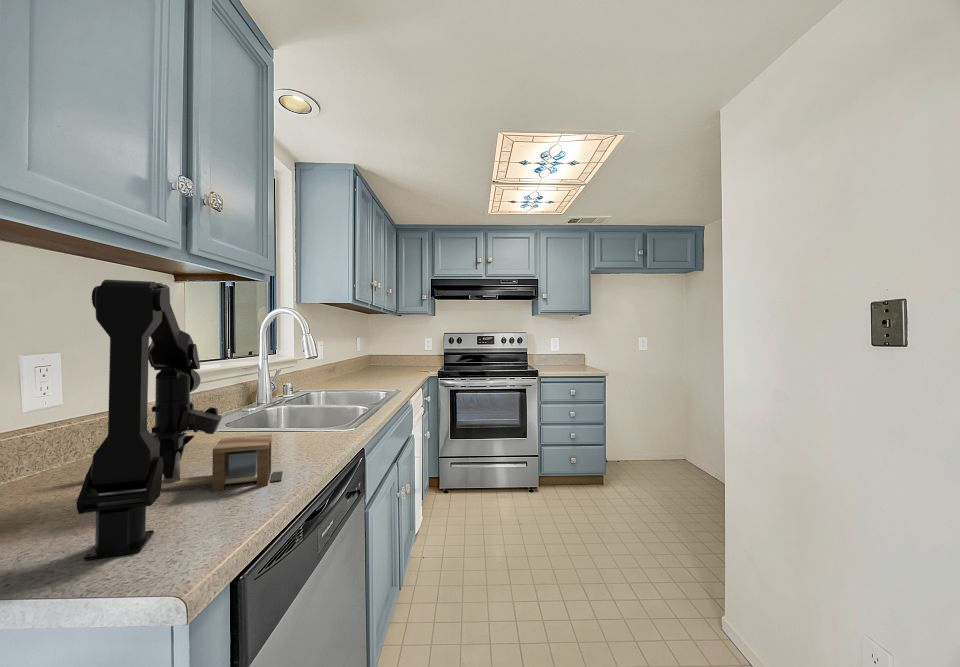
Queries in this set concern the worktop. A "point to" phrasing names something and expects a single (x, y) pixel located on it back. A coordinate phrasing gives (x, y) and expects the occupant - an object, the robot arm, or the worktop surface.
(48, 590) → the worktop surface
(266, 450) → the tunnel
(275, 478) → the grey flat block
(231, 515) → the worktop surface
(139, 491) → the rail
